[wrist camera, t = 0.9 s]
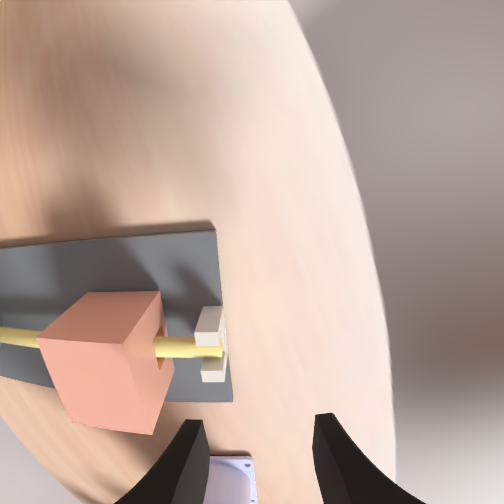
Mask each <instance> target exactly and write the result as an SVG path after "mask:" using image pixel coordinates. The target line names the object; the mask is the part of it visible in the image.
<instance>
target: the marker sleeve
mask: <svg viewBox="0 0 504 504" xmlns="http://www.w3.org/2000/svg"><path fill="white" fill-rule="evenodd" d="M154 337H168V333H167V328H166V322H165V317H164V311H163V305H162V300H161V294H160V291H130V292H88V293H86V294H85V295H84V296H83V297H82V298H80V299H79V300H78V301H77V302H76V303H74V304H73V305H72V306H71V307H70V308H69V309H67V310H66V311H65V312H64V313H63V314H62V315H61V316H59V317H58V318H57V319H56V320H55V321H54V322H53V323H51V324H50V325H49V326H48V327H47V328H46V329H45V330H44V331H42V332H41V333H40V334H39V335H38V336H37V337H36V340H37V343H38V345H39V348H40V351H41V354H42V356H43V359H44V361H45V364H46V366H47V369H48V371H49V374H50V376H51V379H52V381H53V383H54V386H55V388H56V390H57V392H58V395H59V397H60V399H61V401H62V403H63V405H64V407H65V409H66V411H67V413H68V415H69V417H70V419H71V421H72V423H77V424H82V425H87V426H92V427H98V428H104V429H110V430H116V431H123V432H131V433H139V434H148V435H152V434H153V431H154V428H155V425H156V422H157V419H158V417H159V414H160V411H161V408H162V405H163V402H164V399H165V396H166V394H167V391H168V388H169V385H170V382H171V379H172V377H173V374H174V371H175V367H174V362H173V357H156V354H155V349H154V345H153V339H154Z"/></svg>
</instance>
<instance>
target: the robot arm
mask: <svg viewBox="0 0 504 504" xmlns="http://www.w3.org/2000/svg"><path fill="white" fill-rule="evenodd" d="M312 450H313V458H314V465H315V472H316V475H317V479H318V483H319V487H320V491H321V494H322V498H323V502H324V504H426V503H424V502H422V501H420V500H419V499H417V498H415V497H414V496H412V495H411V494H409V493H408V492H406V491H405V490H403V489H402V488H401V487H399V486H398V485H397V484H395V483H394V482H393V481H392V480H390V479H389V478H388V477H387V476H386V475H384V474H383V473H382V472H381V471H380V470H379V469H378V468H377V467H376V466H375V465H374V464H373V463H372V462H371V461H370V460H369V459H368V458H367V457H366V456H365V455H364V454H363V452H362V451H361V450H360V449H359V448H358V447H357V445H356V444H355V443H354V442H353V441H352V439H351V438H350V437H349V435H348V434H347V433H346V431H345V430H344V429H343V427H342V426H341V424H340V423H339V421H338V420H337V418H336V417H335V415H334V414H333V413H326V414H317V415H315V425H314V436H313V445H312ZM114 504H258V500H257V491H256V482H255V472H254V463H253V458H252V457H250V456H210V450H209V446H208V442H207V438H206V433H205V429H204V425H203V420H189V419H186V420H185V421H184V422H183V424H182V426H181V427H180V429H179V431H178V432H177V434H176V435H175V437H174V438H173V440H172V441H171V443H170V444H169V446H168V447H167V449H166V450H165V451H164V453H163V454H162V455H161V457H160V458H159V459H158V461H157V462H156V463H155V464H154V465H153V467H152V468H151V469H150V470H149V471H148V472H147V474H146V475H145V476H144V477H143V478H142V479H141V480H140V481H139V482H138V483H137V484H136V485H135V486H134V487H133V488H132V489H131V490H130V491H129V492H128V493H126V494H125V495H124V496H123V497H122V498H120V499H119V500H118V501H117V502H115V503H114Z"/></svg>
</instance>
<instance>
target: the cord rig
mask: <svg viewBox="0 0 504 504" xmlns="http://www.w3.org/2000/svg"><path fill="white" fill-rule="evenodd" d="M130 291H160V294H161V300H162V305H163V311H164V317H165V322H166V328H167V333H168V337H154V339H153V345H154V349H155V354H156V357H173V362H174V367H175V371H174V374H173V377H172V379H171V382H170V385H169V388H168V391H167V394H166V396H165V399H164V401H175V402H233V391H232V383H231V375H230V366H229V358H228V346H227V336H226V327H225V318H224V308H223V302H222V292H221V282H220V271H219V260H218V249H217V237H216V230H201V231H187V232H172V233H159V234H145V235H133V236H120V237H108V238H97V239H85V240H74V241H63V242H53V243H43V244H33V245H23V246H13V247H4V248H0V376H3V377H7V378H11V379H15V380H19V381H24V382H28V383H33V384H37V385H42V386H47V387H52V388H55V386H54V383H53V381H52V379H51V376H50V374H49V371H48V369H47V366H46V364H45V361H44V359H43V356H42V354H41V351H40V348H39V345H38V343H37V340H36V337H37V336H38V335H39V334H40V333H41V332H42V331H44V330H45V329H46V328H47V327H48V326H49V325H50V324H51V323H53V322H54V321H55V320H56V319H57V318H58V317H59V316H61V315H62V314H63V313H64V312H65V311H66V310H67V309H69V308H70V307H71V306H72V305H73V304H74V303H76V302H77V301H78V300H79V299H80V298H82V297H83V296H84V295H85V294H86V293H88V292H130Z"/></svg>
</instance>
